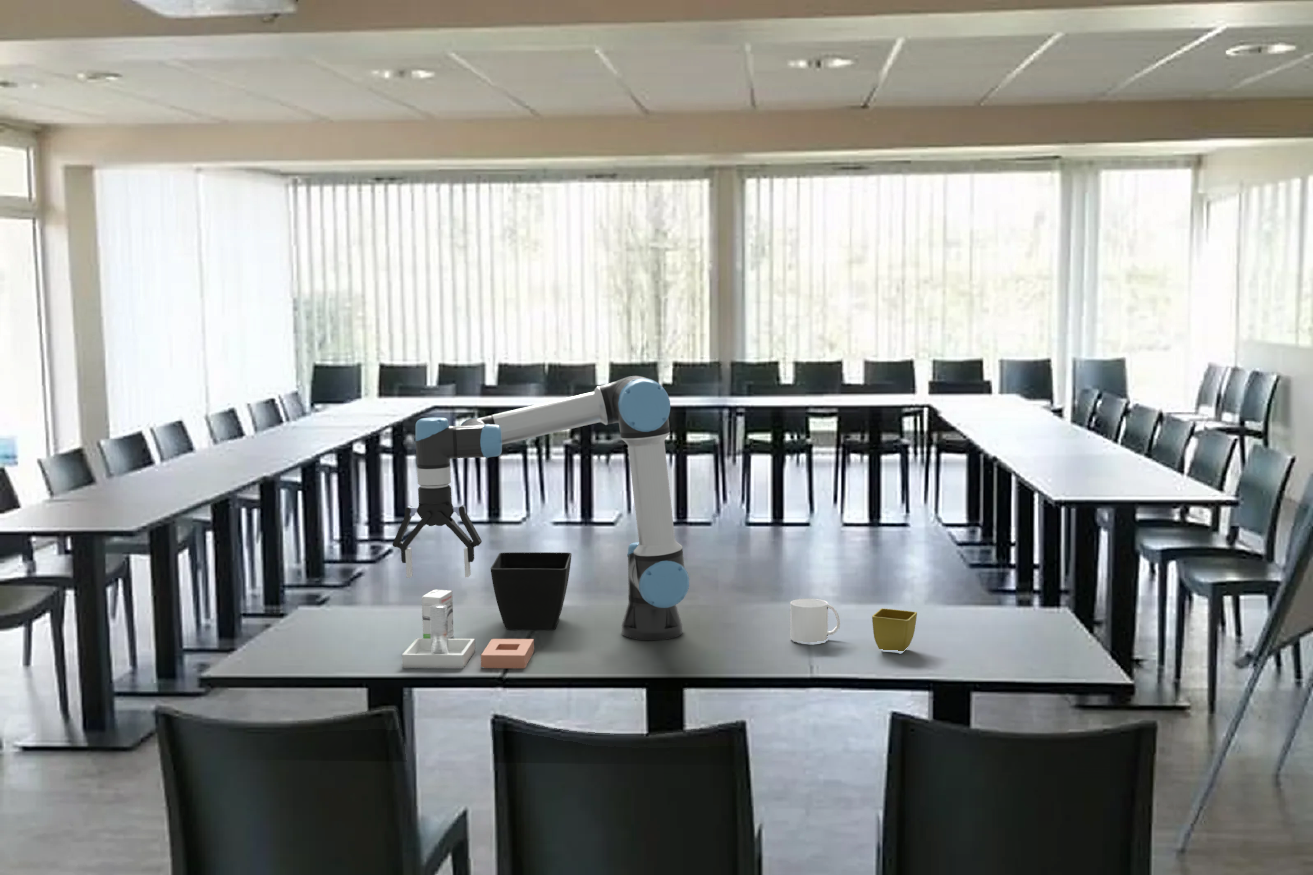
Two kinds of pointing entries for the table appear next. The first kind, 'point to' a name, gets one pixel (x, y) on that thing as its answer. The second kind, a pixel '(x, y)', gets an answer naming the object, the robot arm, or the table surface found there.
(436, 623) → the pin
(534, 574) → the flower pot
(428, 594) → the ink box
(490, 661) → the hitch plate
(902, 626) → the flower pot
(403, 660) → the tray
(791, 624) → the mug
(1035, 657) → the table surface
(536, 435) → the robot arm
